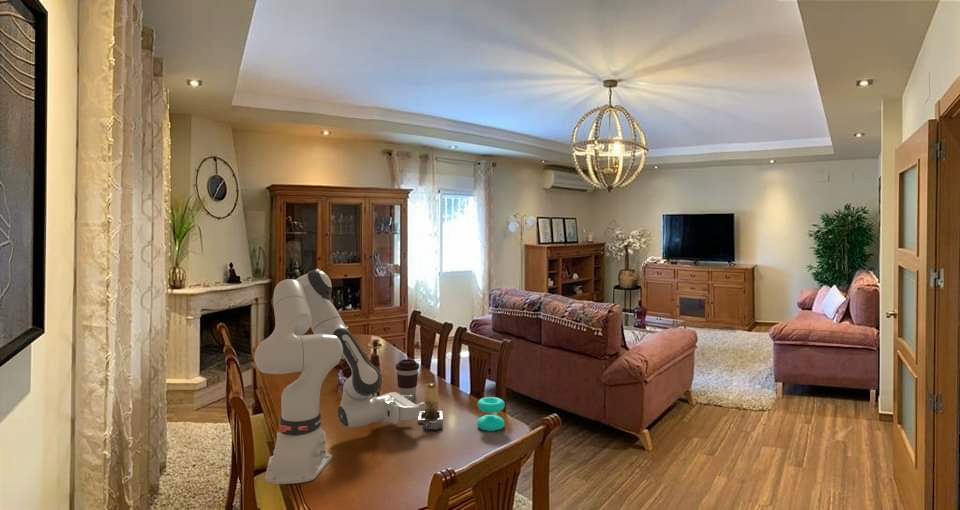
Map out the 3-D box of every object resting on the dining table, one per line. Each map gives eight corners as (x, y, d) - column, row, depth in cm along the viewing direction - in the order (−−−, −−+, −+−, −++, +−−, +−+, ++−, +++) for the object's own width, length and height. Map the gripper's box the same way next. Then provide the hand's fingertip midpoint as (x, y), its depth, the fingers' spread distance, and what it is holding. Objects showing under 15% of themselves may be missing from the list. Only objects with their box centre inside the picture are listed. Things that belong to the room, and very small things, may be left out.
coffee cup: (421, 392, 230) (421, 358, 229) (416, 399, 220) (416, 364, 219) (399, 391, 231) (399, 357, 230) (393, 398, 221) (393, 363, 220)
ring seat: (442, 423, 194) (442, 419, 194) (418, 423, 193) (418, 419, 193) (442, 414, 203) (442, 410, 203) (418, 414, 202) (418, 411, 202)
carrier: (443, 431, 186) (443, 424, 186) (423, 431, 185) (423, 425, 185) (442, 419, 197) (442, 412, 197) (423, 419, 197) (423, 413, 197)
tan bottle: (438, 418, 197) (438, 387, 194) (424, 418, 196) (424, 388, 194) (437, 411, 202) (437, 381, 199) (424, 412, 201) (424, 381, 198)
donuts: (472, 401, 188) (486, 394, 197) (472, 428, 189) (485, 420, 197) (496, 406, 183) (509, 398, 192) (496, 434, 184) (509, 425, 192)
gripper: (373, 407, 195) (406, 401, 203) (396, 425, 178) (432, 417, 186) (373, 391, 195) (406, 385, 203) (396, 407, 178) (432, 400, 186)
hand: (419, 401), depth 194 cm, fingers open, 8 cm apart
